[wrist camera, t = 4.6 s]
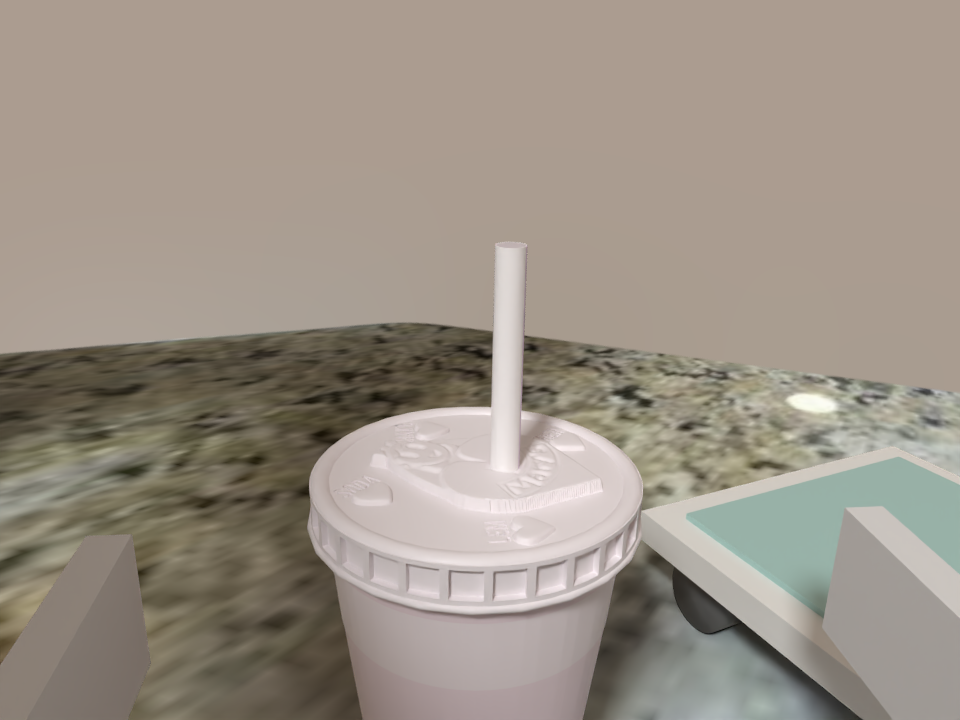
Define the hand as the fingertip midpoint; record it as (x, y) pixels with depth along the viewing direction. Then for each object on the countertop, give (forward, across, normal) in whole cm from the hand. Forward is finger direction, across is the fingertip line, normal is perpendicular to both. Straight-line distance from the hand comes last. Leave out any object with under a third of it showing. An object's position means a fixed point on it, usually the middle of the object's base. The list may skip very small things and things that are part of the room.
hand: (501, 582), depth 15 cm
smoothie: (+1, 0, -8) cm, 8 cm away
